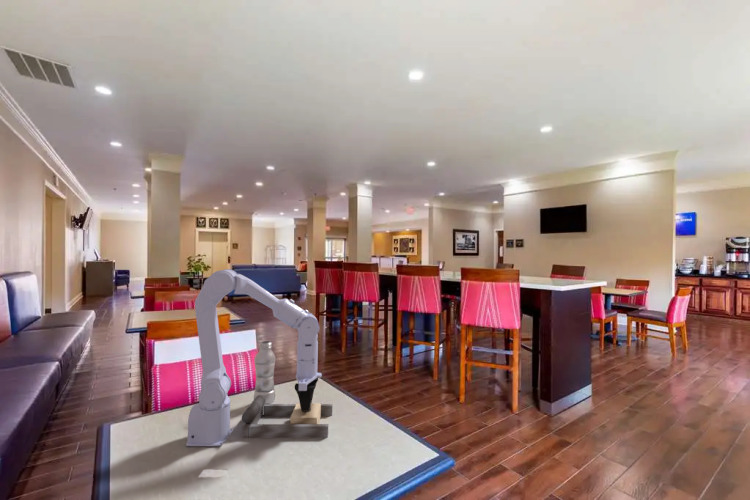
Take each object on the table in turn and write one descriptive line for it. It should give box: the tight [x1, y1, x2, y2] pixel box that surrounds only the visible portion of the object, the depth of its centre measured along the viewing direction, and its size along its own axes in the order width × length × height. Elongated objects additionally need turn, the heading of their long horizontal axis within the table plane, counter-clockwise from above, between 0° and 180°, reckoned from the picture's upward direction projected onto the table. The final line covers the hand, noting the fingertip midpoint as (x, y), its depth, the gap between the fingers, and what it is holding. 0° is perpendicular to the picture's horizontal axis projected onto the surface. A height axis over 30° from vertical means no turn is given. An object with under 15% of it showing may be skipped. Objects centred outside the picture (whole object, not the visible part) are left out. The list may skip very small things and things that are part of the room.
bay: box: [241, 395, 333, 439], centre depth 96 cm, size 23×14×7 cm, turn 92°
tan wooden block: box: [289, 402, 322, 424], centre depth 97 cm, size 7×9×8 cm
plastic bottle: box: [253, 340, 277, 406], centre depth 112 cm, size 6×7×20 cm
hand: (306, 407), depth 97 cm, fingers closed on tan wooden block, 3 cm apart
